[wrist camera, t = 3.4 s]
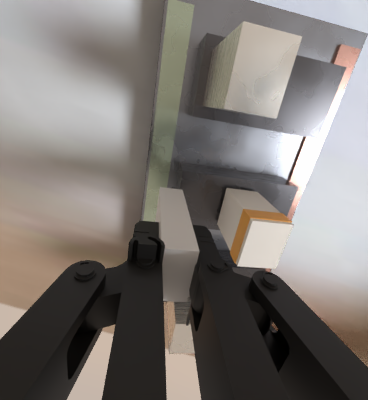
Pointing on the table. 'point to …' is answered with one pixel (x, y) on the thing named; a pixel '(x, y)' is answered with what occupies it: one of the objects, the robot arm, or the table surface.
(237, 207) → the handle
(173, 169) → the panel
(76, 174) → the table surface
